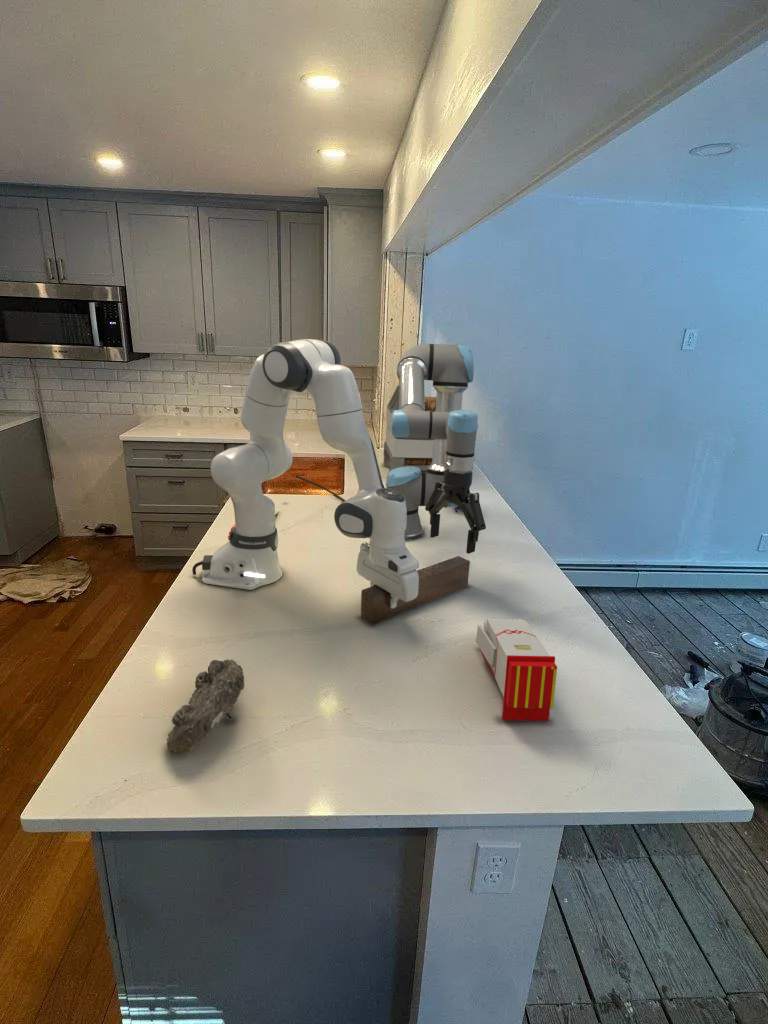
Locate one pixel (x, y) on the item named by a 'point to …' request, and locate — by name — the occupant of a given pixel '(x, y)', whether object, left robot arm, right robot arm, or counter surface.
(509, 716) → the toy
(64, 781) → the counter surface
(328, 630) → the counter surface
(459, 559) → the walnut beam
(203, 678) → the fossil
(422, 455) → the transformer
